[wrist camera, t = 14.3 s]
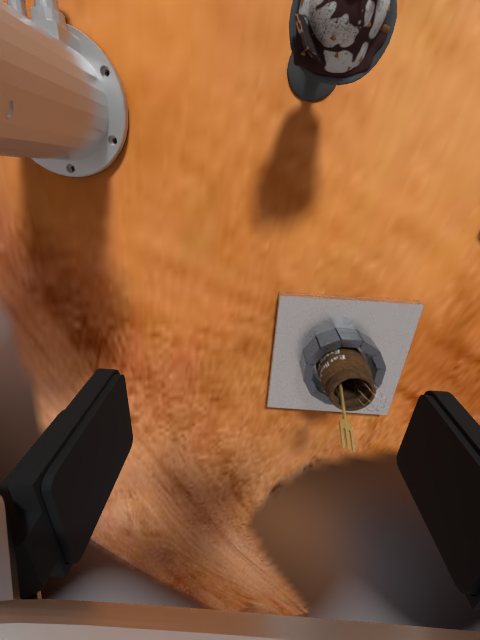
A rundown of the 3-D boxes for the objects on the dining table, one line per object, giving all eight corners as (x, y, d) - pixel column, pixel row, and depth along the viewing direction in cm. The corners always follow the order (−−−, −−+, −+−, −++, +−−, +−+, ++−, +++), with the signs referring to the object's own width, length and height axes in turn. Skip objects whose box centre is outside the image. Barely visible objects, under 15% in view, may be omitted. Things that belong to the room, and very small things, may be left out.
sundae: (361, 28, 27) (467, -116, 14) (338, 117, 30) (406, 72, 16) (287, 13, 27) (321, -148, 13) (271, 104, 30) (285, 48, 16)
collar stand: (278, 291, 38) (281, 305, 34) (417, 300, 38) (437, 315, 34) (267, 399, 45) (268, 422, 41) (383, 407, 45) (395, 431, 41)
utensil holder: (370, 349, 39) (414, 417, 28) (343, 385, 42) (373, 460, 31) (330, 332, 38) (359, 394, 28) (304, 369, 41) (322, 440, 30)
